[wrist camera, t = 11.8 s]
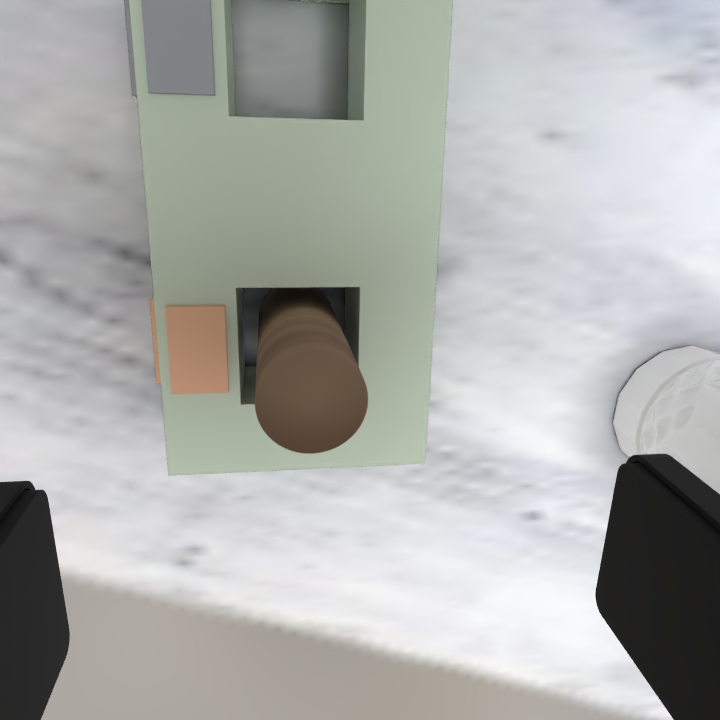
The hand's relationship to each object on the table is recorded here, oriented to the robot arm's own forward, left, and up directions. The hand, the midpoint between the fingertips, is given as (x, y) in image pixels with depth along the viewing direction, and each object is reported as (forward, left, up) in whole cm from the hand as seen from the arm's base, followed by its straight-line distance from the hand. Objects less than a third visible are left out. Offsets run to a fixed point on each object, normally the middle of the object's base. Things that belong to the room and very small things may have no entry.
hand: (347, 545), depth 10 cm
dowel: (+1, 0, -18) cm, 18 cm away
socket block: (-4, 0, -18) cm, 18 cm away
